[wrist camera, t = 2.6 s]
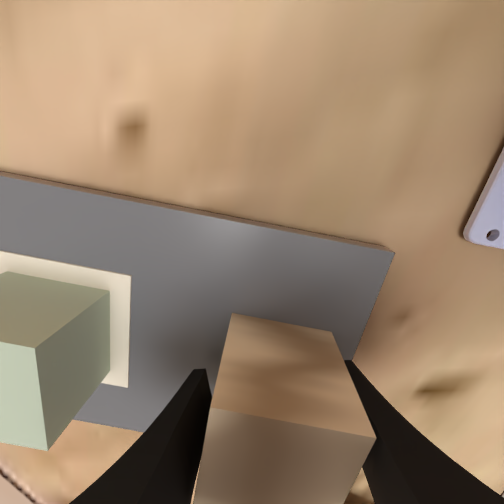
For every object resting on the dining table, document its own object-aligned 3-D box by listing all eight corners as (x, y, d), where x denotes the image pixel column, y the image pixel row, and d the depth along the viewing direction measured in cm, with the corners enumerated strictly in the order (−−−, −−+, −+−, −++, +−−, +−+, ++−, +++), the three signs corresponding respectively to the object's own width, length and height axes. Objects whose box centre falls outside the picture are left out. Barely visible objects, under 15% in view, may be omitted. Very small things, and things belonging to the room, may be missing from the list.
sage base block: (109, 290, 12) (34, 348, 8) (110, 370, 13) (47, 450, 9) (6, 271, 12) (-120, 319, 8) (19, 354, 13) (-81, 427, 9)
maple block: (331, 331, 12) (376, 437, 7) (305, 405, 13) (328, 532, 9) (231, 312, 12) (210, 407, 7) (217, 389, 13) (192, 508, 9)
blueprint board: (384, 246, 11) (396, 253, 10) (307, 445, 16) (311, 464, 15) (-36, 164, 11) (-68, 163, 10) (6, 390, 16) (-13, 405, 14)
